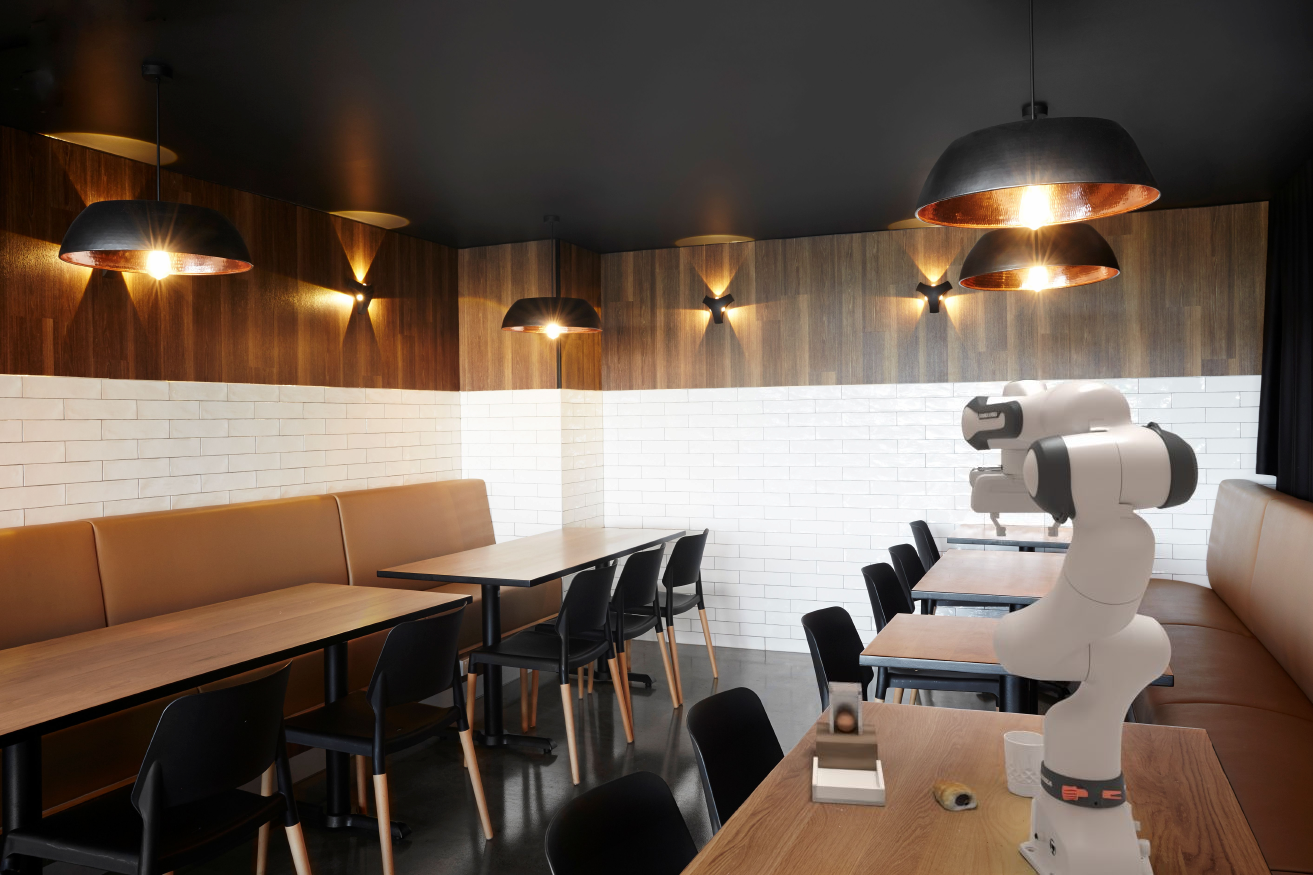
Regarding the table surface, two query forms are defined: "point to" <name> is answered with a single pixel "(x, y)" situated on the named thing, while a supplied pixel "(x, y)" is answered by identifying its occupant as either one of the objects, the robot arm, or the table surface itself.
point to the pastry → (954, 795)
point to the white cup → (1023, 762)
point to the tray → (848, 785)
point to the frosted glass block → (845, 702)
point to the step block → (846, 748)
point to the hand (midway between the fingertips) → (1027, 536)
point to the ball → (845, 721)
